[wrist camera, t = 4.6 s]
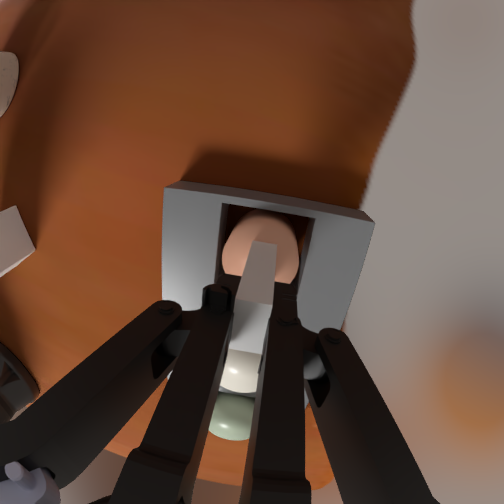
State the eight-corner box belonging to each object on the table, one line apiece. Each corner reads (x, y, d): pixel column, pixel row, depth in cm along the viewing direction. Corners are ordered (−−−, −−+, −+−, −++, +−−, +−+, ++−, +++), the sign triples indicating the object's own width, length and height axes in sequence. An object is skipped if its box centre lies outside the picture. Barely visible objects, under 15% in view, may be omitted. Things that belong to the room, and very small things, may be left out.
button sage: (255, 414, 28) (251, 443, 24) (213, 407, 28) (206, 435, 25) (261, 390, 26) (258, 421, 23) (215, 382, 26) (207, 412, 23)
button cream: (269, 363, 25) (266, 396, 21) (217, 354, 25) (208, 386, 21) (279, 324, 23) (277, 357, 19) (221, 314, 23) (211, 345, 19)
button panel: (292, 414, 30) (291, 434, 27) (178, 394, 30) (171, 412, 28) (363, 211, 20) (375, 222, 17) (179, 180, 20) (164, 187, 18)
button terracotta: (289, 273, 22) (290, 300, 18) (229, 262, 22) (218, 288, 19) (301, 214, 20) (306, 232, 17) (236, 203, 20) (226, 218, 17)
